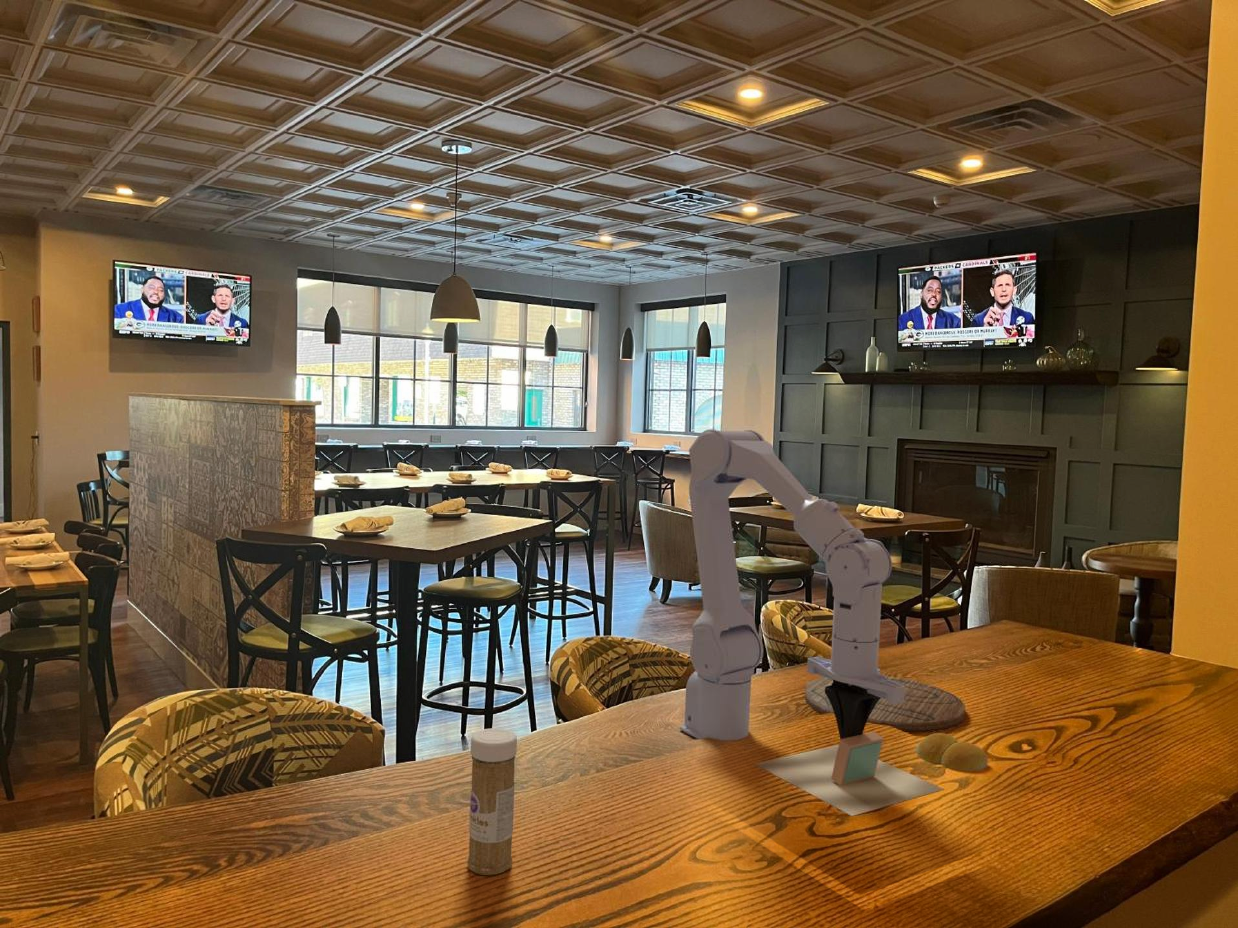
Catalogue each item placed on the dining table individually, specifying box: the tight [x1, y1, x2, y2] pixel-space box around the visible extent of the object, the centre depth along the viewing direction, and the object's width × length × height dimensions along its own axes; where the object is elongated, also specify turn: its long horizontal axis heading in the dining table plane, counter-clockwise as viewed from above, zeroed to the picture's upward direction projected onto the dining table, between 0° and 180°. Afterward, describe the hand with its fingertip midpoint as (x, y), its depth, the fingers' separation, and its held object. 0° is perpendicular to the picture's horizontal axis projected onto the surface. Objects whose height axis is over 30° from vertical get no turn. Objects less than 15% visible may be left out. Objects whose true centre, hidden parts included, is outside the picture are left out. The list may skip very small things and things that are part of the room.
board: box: [754, 744, 945, 817], centre depth 114 cm, size 17×16×1 cm
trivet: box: [804, 675, 966, 734], centre depth 146 cm, size 25×25×2 cm
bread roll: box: [914, 732, 989, 772], centre depth 122 cm, size 8×9×4 cm
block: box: [831, 731, 884, 786], centre depth 112 cm, size 2×6×6 cm, turn 122°
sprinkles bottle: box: [467, 727, 518, 876], centre depth 90 cm, size 5×5×13 cm
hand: (850, 743), depth 113 cm, fingers closed
